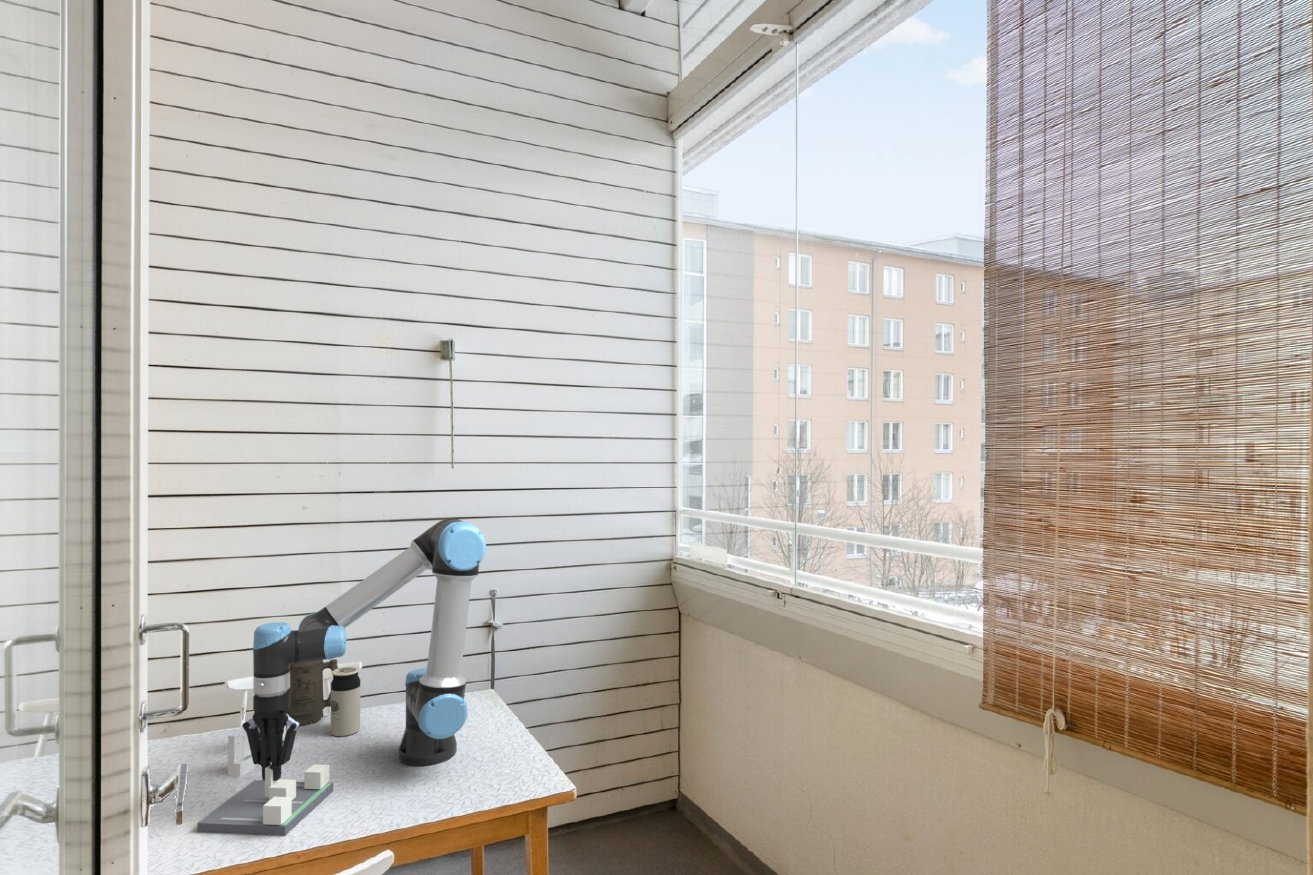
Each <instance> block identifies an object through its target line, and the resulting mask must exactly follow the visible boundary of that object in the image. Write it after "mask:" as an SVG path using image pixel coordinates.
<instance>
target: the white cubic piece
mask: <svg viewBox="0 0 1313 875" xmlns="http://www.w3.org/2000/svg"><path fill="white" fill-rule="evenodd" d="M303 774H304V778H303V779H304V780H303V782H304V789H321V788H323V787H324V786H325V785H326V784H327V783H330V764H312V765H311V766H310V767H309V768H307V769H306V770H305V771H304V773H303Z"/></svg>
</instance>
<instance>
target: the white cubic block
mask: <svg viewBox="0 0 1313 875" xmlns="http://www.w3.org/2000/svg"><path fill="white" fill-rule="evenodd" d="M296 782H297V780H296V779H285V778H284V779H282V778H280V779H279V780H278V781H277V782H276V783H274V784H273V785H272V786H270V787H269V801H270V800H271V799H272V798H273V797H292V800H293V799H294V798H295V797H296Z"/></svg>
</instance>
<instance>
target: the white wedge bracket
mask: <svg viewBox="0 0 1313 875" xmlns="http://www.w3.org/2000/svg"><path fill="white" fill-rule="evenodd" d="M227 738H228V739H227V745H228V746H227V750H228V752H227V775H228V776H235V777H242V776H243V775H245V774H247V773H249V772H250V771H252V770H253V768H254V767H255V766H257V767H258V764H256V765H255V764H254V763H253V759H252V755H251V750H250V746H249V742H248V738H243V737H239V736H236V735H235V736H234V735H228V736H227ZM255 768H256V767H255ZM255 768H254V769H255ZM251 769H252V770H251ZM246 772H247V773H246ZM244 773H245V774H244Z"/></svg>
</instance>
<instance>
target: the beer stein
mask: <svg viewBox="0 0 1313 875" xmlns="http://www.w3.org/2000/svg"><path fill="white" fill-rule="evenodd" d="M338 668H339V666H338V659H337V658H332V659H330V660H329V661H326V662H325V661H324V660H317V661H309V662H301V663H293V664H290V688H289V689H288V690H289V691H290V706H289V712H290V714H291V718H292V719H293V720H295V721H298V720H299V721H300V722H301V725H300V726H299V727H302V726H305V727H306V726H307V725H313V724H315V723H317V722H320V721H322V719H323V718H324V716H325V714H324V709H325V708H328V707H330V708H331V690H330V692H329V694H328V698H327V699H324V673H323V672H324V670H326V669H329V670H331V672H332V671H333V670H335V669H338ZM322 717H323V718H322ZM321 718H322V719H321Z"/></svg>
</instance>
